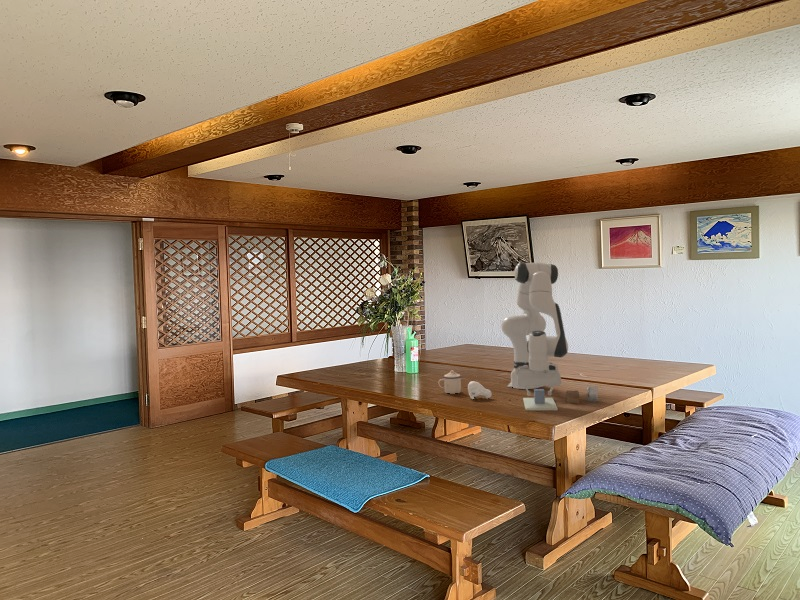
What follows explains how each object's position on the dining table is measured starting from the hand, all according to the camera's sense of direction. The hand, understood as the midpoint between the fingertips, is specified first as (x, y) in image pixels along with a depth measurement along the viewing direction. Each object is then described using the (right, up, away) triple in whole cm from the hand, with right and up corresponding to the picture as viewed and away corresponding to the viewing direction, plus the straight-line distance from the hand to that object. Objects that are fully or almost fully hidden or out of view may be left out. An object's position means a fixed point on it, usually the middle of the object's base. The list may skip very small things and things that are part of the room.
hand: (539, 395), depth 279 cm
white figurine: (-25, -5, +19) cm, 32 cm away
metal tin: (+26, -4, +3) cm, 26 cm away
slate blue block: (0, -4, 0) cm, 4 cm away
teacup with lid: (-39, -5, +36) cm, 53 cm away
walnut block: (+17, -4, +4) cm, 18 cm away
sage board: (0, -5, 0) cm, 5 cm away
